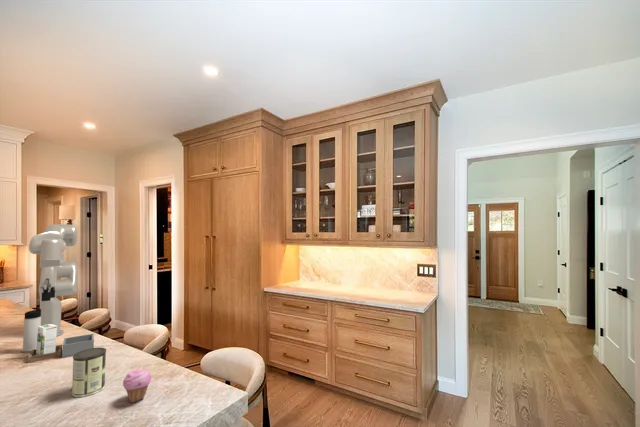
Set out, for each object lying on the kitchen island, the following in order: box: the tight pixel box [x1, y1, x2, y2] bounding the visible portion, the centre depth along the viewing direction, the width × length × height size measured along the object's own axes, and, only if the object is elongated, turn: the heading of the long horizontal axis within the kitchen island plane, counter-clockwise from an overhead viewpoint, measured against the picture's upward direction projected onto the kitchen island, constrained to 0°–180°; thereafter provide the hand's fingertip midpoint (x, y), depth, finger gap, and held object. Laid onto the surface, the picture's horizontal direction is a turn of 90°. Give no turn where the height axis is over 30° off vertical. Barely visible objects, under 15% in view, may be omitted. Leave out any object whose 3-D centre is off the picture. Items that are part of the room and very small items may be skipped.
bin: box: [61, 333, 95, 359], centre depth 155 cm, size 12×12×6 cm
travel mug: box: [22, 308, 41, 354], centre depth 156 cm, size 6×7×20 cm
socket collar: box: [27, 344, 63, 364], centre depth 149 cm, size 12×12×2 cm
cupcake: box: [122, 368, 152, 403], centre depth 112 cm, size 9×9×10 cm
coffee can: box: [71, 347, 107, 398], centre depth 118 cm, size 10×10×14 cm
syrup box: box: [35, 324, 57, 356], centre depth 150 cm, size 6×6×14 cm
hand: (48, 299), depth 152 cm, fingers open, 9 cm apart
